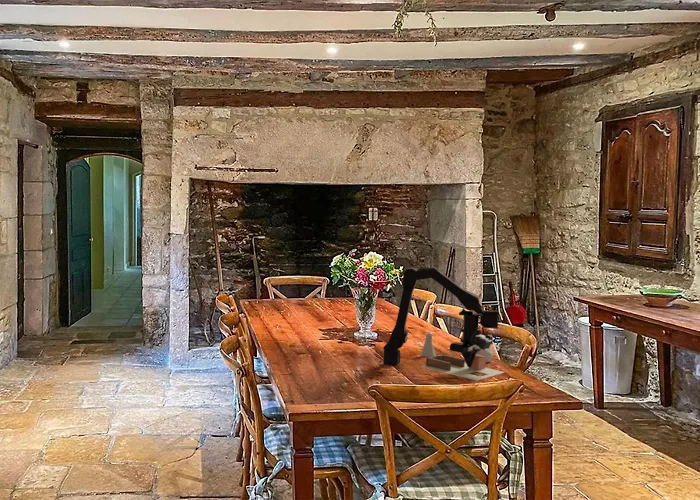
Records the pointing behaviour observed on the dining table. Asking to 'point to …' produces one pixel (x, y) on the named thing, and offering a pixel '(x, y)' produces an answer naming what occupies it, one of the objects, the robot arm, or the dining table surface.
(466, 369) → the board
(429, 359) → the cubby
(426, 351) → the flask
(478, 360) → the block
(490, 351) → the die
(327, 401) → the dining table surface
